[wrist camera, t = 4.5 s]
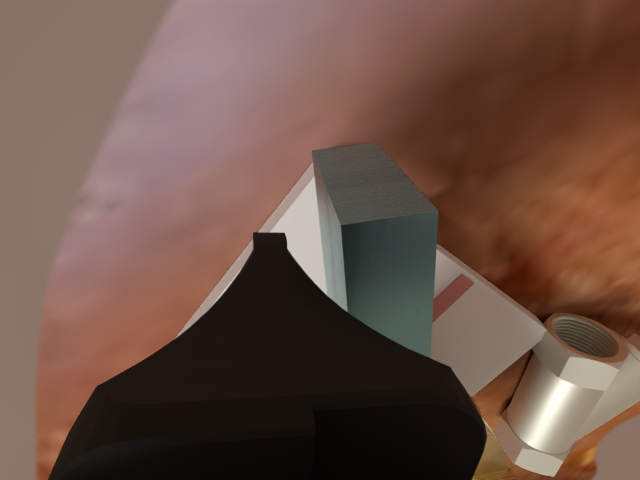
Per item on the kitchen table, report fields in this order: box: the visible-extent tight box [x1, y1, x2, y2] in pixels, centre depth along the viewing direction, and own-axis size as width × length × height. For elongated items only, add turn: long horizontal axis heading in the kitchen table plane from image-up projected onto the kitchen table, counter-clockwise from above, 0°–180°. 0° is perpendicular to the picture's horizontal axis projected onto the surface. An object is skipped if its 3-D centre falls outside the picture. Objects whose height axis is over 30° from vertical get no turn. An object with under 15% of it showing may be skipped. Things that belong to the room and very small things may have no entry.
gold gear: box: [312, 142, 517, 480], centre depth 13 cm, size 18×10×4 cm, turn 6°
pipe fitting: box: [493, 313, 640, 477], centre depth 21 cm, size 8×4×7 cm
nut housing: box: [176, 162, 547, 397], centre depth 18 cm, size 16×14×4 cm
